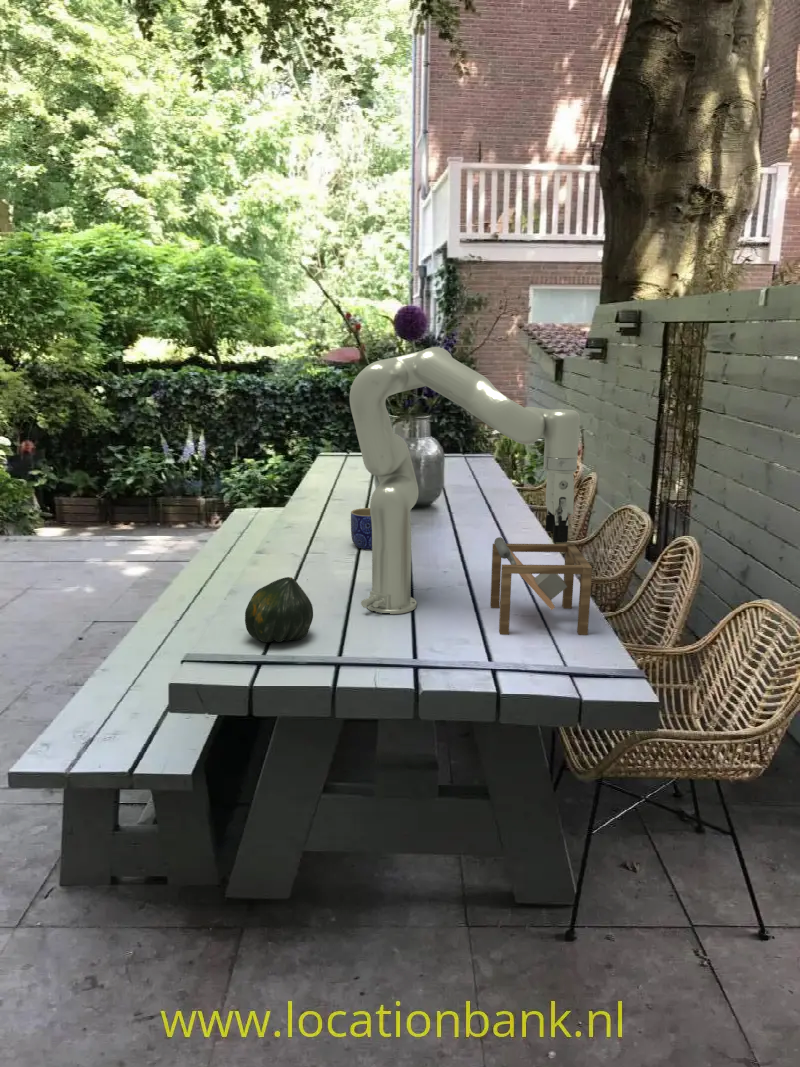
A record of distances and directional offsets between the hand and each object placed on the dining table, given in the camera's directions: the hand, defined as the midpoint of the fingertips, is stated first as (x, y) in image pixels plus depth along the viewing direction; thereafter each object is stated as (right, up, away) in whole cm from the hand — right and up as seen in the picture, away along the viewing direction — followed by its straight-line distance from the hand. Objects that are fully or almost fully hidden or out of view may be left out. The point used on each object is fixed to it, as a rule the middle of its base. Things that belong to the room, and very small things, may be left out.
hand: (556, 536), depth 202 cm
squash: (-63, -23, -8) cm, 68 cm away
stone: (-3, -13, +3) cm, 13 cm away
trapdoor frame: (-4, -20, +5) cm, 21 cm away
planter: (-46, -4, +67) cm, 81 cm away
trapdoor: (-8, -9, +2) cm, 12 cm away
